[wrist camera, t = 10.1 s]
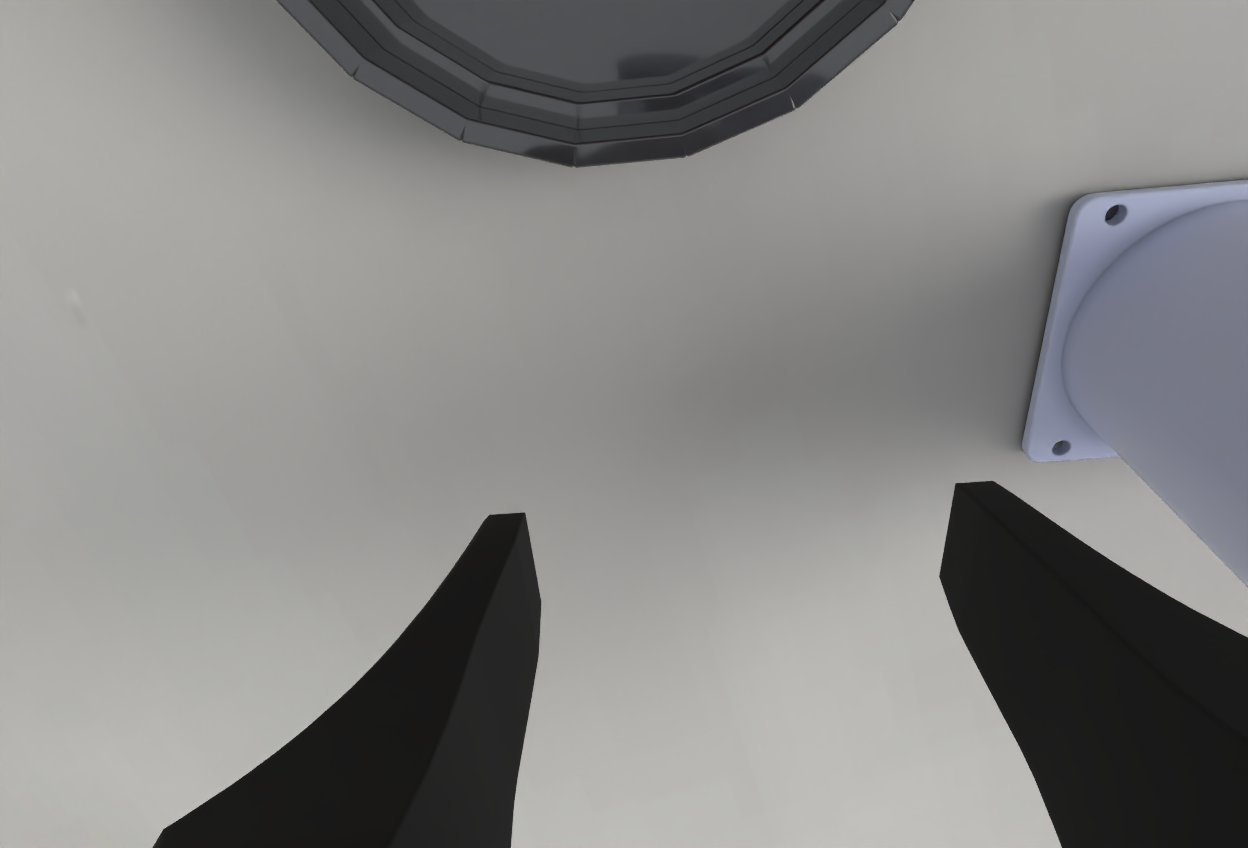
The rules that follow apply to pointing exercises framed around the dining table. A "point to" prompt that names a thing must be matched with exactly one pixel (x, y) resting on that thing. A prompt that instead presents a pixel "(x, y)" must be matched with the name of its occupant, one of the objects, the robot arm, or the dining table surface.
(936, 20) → the dining table surface
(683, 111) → the pan
